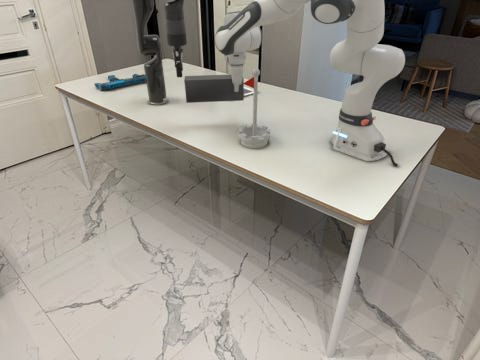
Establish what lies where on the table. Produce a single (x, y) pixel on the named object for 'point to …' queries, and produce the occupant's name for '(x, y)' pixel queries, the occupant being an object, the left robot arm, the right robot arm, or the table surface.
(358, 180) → the table surface
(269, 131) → the flag stand
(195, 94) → the box
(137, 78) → the submachine gun
